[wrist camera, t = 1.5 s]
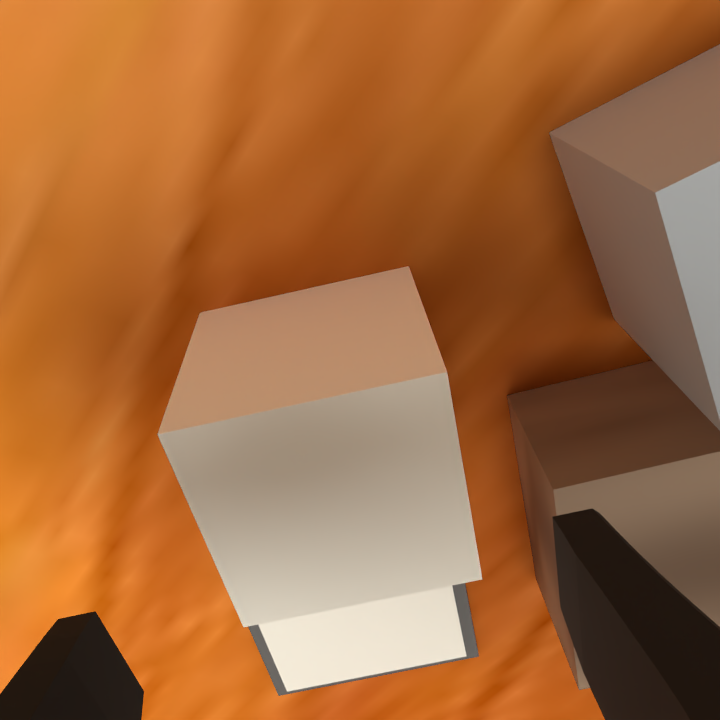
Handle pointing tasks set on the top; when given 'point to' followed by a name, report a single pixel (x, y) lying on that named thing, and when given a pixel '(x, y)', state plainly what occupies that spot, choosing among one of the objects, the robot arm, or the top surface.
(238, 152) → the top surface
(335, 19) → the top surface
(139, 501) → the top surface
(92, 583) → the top surface
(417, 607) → the swatch
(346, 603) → the cream cube
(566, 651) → the walnut slab
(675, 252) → the slate cube
